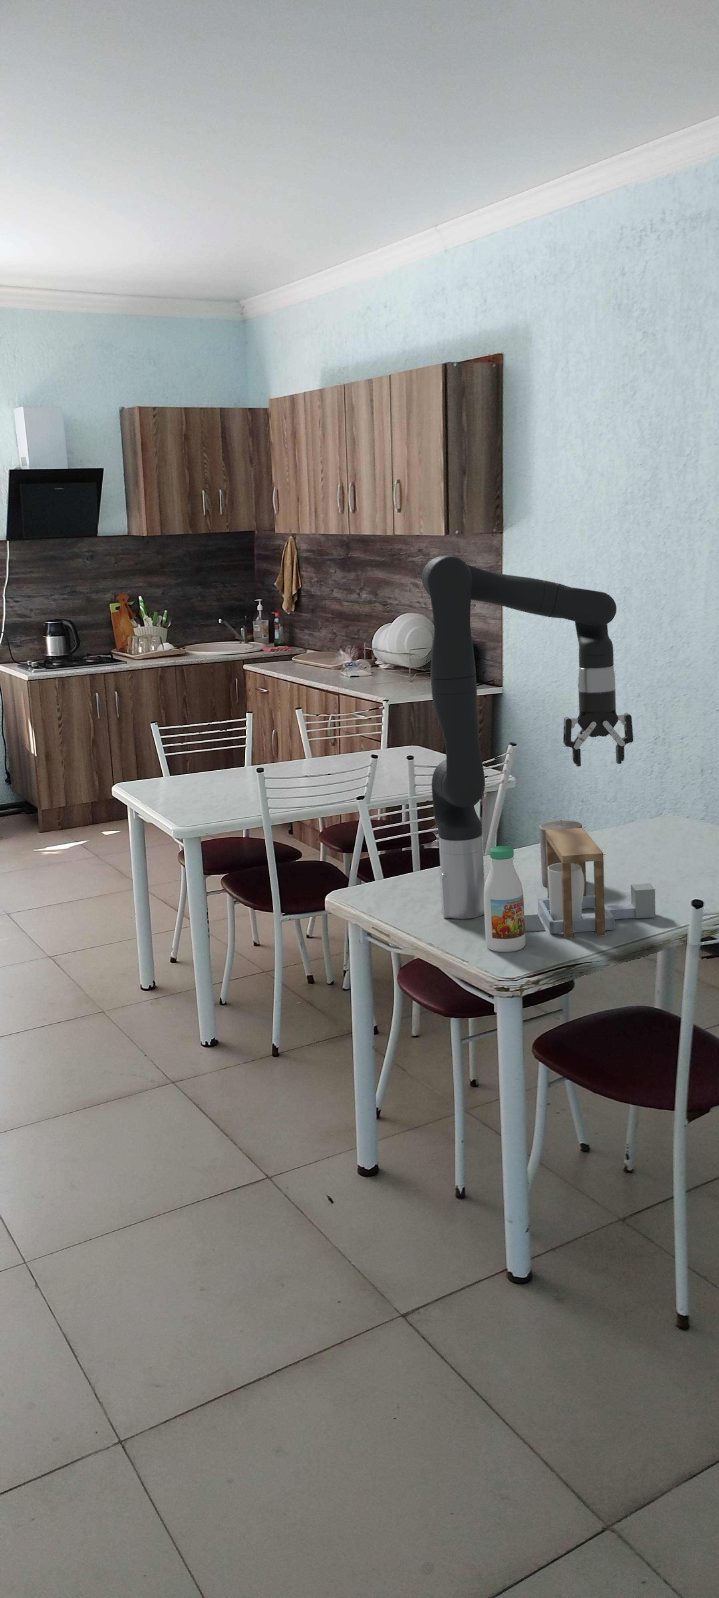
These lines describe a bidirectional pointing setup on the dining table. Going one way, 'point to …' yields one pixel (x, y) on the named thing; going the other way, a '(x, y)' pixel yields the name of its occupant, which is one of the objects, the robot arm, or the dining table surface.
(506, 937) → the milk bottle
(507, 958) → the dining table surface
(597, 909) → the tunnel
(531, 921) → the gray flat slab
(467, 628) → the robot arm
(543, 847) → the pillar candle
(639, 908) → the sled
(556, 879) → the mug
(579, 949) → the dining table surface
